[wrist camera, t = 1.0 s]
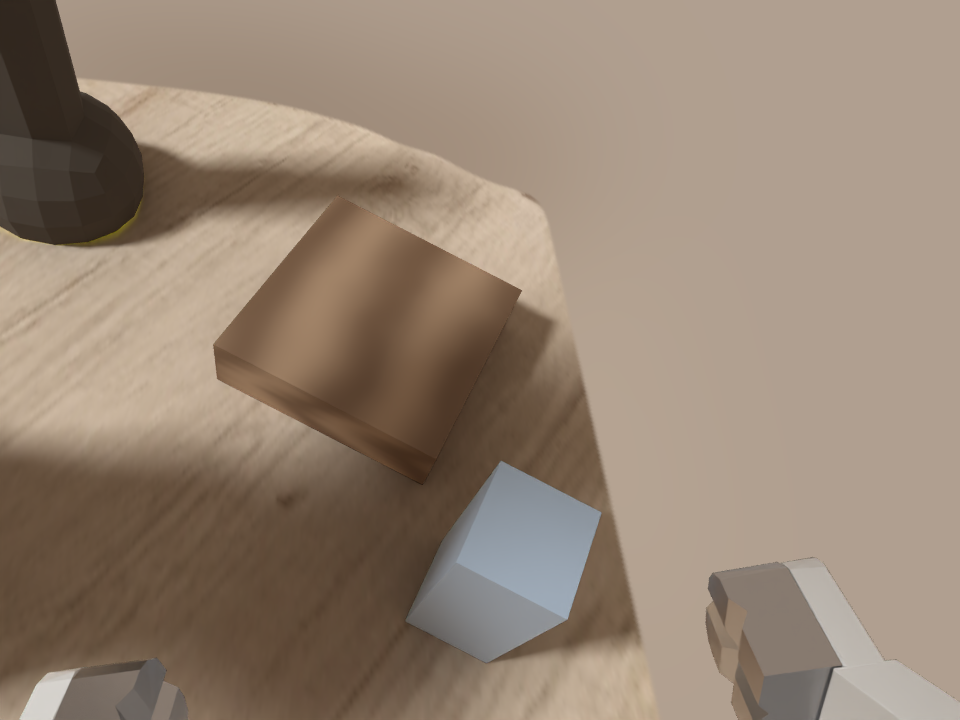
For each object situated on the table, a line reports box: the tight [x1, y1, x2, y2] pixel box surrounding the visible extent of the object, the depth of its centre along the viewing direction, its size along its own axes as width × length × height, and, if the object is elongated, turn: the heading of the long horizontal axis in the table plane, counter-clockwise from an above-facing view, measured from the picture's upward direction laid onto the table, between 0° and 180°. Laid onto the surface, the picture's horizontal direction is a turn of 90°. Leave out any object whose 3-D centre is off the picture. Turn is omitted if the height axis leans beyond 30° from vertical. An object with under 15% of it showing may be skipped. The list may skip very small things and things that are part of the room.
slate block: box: [405, 461, 602, 663], centre depth 34 cm, size 5×5×12 cm
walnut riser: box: [213, 196, 522, 485], centre depth 44 cm, size 14×14×4 cm
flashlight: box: [0, 0, 144, 245], centre depth 35 cm, size 10×25×10 cm
